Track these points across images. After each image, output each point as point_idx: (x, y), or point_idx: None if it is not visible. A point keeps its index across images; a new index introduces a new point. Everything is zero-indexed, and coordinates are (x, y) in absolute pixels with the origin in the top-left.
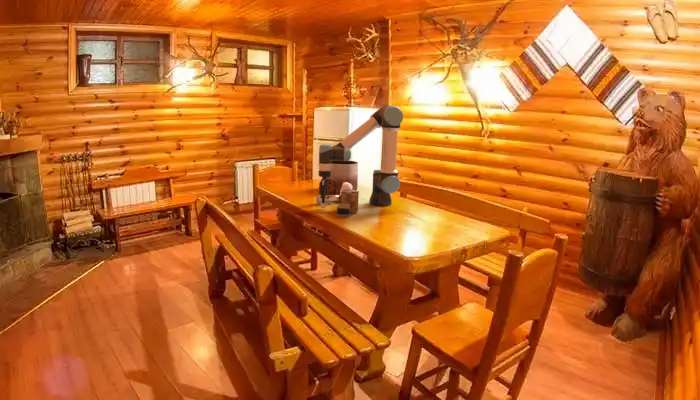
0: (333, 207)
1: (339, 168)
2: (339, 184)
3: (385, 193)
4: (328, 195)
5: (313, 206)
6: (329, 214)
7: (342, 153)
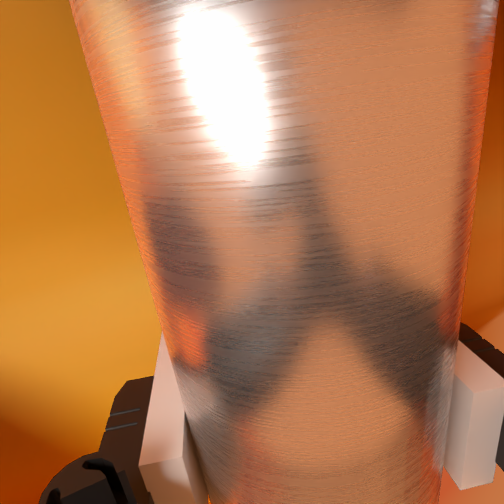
0: (16, 199)
1: None
2: None
3: None
4: (405, 406)
5: None
6: (501, 126)
7: None
